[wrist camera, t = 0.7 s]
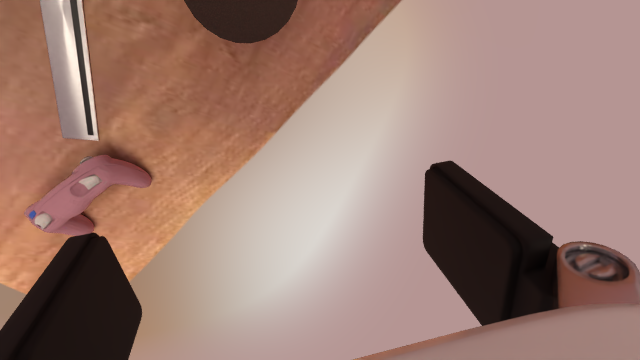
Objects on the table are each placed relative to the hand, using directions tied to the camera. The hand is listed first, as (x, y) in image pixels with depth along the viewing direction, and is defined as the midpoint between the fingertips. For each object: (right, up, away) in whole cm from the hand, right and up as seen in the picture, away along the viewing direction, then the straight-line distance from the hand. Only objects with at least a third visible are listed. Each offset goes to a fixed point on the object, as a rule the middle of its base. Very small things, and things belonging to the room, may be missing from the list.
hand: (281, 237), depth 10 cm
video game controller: (-21, +1, +25) cm, 33 cm away
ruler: (-20, +15, +18) cm, 31 cm away
